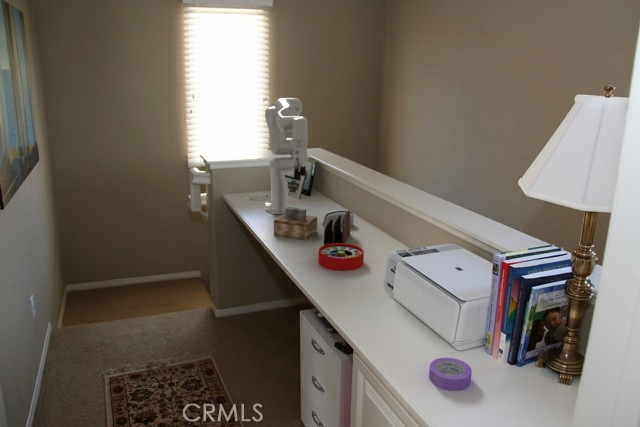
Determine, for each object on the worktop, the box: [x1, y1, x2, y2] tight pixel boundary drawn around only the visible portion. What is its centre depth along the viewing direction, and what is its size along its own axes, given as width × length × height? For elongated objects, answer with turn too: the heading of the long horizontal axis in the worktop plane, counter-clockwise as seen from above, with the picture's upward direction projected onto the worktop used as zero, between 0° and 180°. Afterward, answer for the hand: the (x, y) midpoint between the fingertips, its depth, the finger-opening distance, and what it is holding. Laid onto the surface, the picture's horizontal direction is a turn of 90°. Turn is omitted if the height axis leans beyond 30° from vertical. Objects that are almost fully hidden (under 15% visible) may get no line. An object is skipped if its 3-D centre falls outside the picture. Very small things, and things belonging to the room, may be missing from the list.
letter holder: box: [323, 209, 351, 246], centre depth 276 cm, size 10×20×14 cm, turn 168°
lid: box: [273, 206, 318, 226], centre depth 282 cm, size 18×14×6 cm
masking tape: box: [428, 357, 473, 392], centre depth 160 cm, size 12×12×4 cm
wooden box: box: [273, 219, 318, 241], centre depth 284 cm, size 18×14×7 cm
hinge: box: [321, 209, 355, 228], centre depth 300 cm, size 17×5×10 cm, turn 106°
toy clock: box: [317, 243, 365, 272], centre depth 247 cm, size 20×6×20 cm
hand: (299, 177), depth 280 cm, fingers open, 9 cm apart
